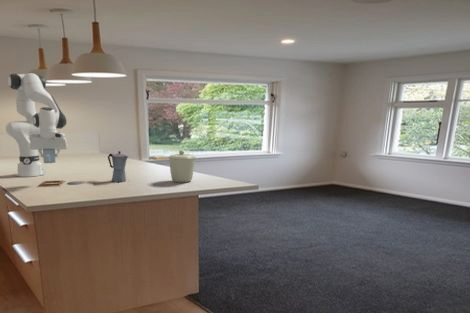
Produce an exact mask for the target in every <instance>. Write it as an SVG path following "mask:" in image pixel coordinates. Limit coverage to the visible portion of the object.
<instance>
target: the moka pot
mask: <svg viewBox="0 0 470 313" xmlns="http://www.w3.org/2000/svg"><path fill="white" fill-rule="evenodd" d="M121 152H122V151H118V152H117V153H115V154H114V153H108V154H109V155H108V156H107V160H108V163H109V167H110V168H112V169H113V170H112V179H111V181H112V182H114V183H123V182H126V181H127V174H126V165H127V161H128V160H127V159H129V156H128V155H127V154H123V153H121Z"/></svg>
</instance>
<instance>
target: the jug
mask: <svg viewBox="0 0 470 313" xmlns="http://www.w3.org/2000/svg"><path fill="white" fill-rule="evenodd" d="M42 153H43V157H42V158H43V159H42V160H43V164H53V163H56V157H55V154H56V149H52V150H42Z"/></svg>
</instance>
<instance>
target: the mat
mask: <svg viewBox="0 0 470 313" xmlns="http://www.w3.org/2000/svg"><path fill="white" fill-rule="evenodd" d="M66 184H67V185H69V186H70V185H71V186H77V185H83V184H85V181H82V180H81V181H80V180H79V181H78V180H77V181H70V182H67V183H66Z"/></svg>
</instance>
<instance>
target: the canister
mask: <svg viewBox="0 0 470 313" xmlns="http://www.w3.org/2000/svg"><path fill="white" fill-rule="evenodd" d="M195 158H196V156H195V155H193V154H189V153H185V150H183V149H180V150H179V152H178V153H175V154H174V153H173V154H171V155H170V156H168V157H167V159H168V161H169V162H168V163H169V168H170V169H169V170H170V175H171V176H170V177H171V180H172V181H173V182H174V183H188V182H191V181H192V180H193V175H194V168H195Z"/></svg>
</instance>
